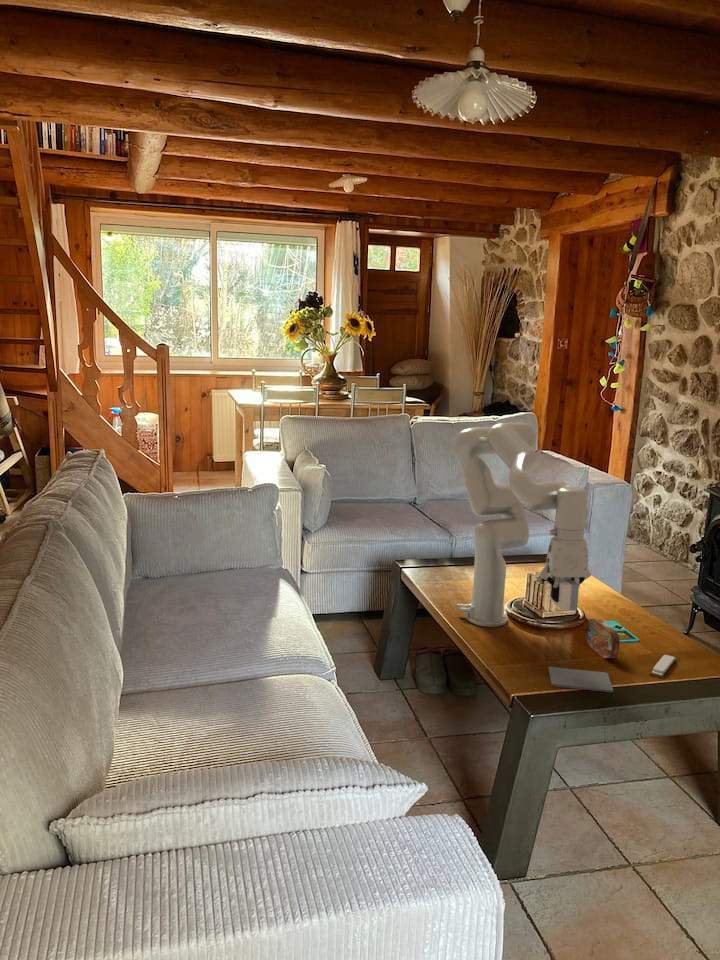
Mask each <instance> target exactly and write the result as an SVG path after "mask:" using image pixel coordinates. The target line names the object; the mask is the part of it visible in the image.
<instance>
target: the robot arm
mask: <svg viewBox="0 0 720 960" xmlns="http://www.w3.org/2000/svg"><path fill="white" fill-rule="evenodd" d="M536 441H537V435H536V432H535V429H534V428H533V426H531V424H529V423H527V422H522V421H518V422H517V421H516V422H515V421H514V422H513V421H512V422H499V423H496V424H494V425H492V426H477V427H468V428H465V429H462V430H461V431H460V432H458V433H457V435H456V436H455V439H454V444H453V452H454V457H455V460H456V462H457V466H458V468H459V470H460V473H461V474H462V477H463V481H464V486H465V489H466V494H467V498H468V501H469V504H470V505H469V506H470V509H471V511H472V512H473V514H474V515H475V516H477V517H492V516H493V517H494V516H495V517H497V516H501V518H492V519H487V520H486V519H485V520H483V521H481V522H479V523H477V524H476V525H475V527H474V528H473V533H472V539H473V548H474V565H473V567H474V568H473V581H472V583H473V584H472V598H471V601H470V603H467V604H464V603H456V604H457V605H456V610H457V611H458V610H459V611H460V613H466V614H465V619H466V620H467V621H468V622H469V623H471V624H474V625H476V626H480V627H487V628H495V627H501V626H504V625H506V624H507V623H508V616H507V615H506V614H505V613H504V600H505V599H504V598H505V588H506V578H507V577H506V575H507V563H506V561H505V559H504V557H503V555H502V551H506V550H514V549H520V548H523V547H524V546H526V545H527V544H528V542H529V540H530V539H529V538H530V530H529V524H528V521H527V517H526V513H525V509H527V510H529V511H531V512H536V511H537V512H539V511H548V510H555V517H554V526H553V528H552V529H549V531H548V533H549V535H550V536H552V537H551V539H550V542H549V543H548V545H549V546H548V549H547V553H546V554H547V555H546V559H545V560H546V561H545V566H544V567H543V568H542V570H541V571H540V572H539V576H540V577H542V578H543V579H544V580H546V581H547V582H548V583H549V584H550V588H551V598H552V599H553V600H554V601H555V602H558V600H559V588H558V584H559V580H560V578H571V579H572V580H573V581H575V582H576V583H577V584H578V585H579V587H580V586H581V584H582V583H584V581H585V580H587V579H588V578H590V577H591V576H592V573H591V571H590V569H589V553H588V552H589V551H588V550H589V549H588V543H587V540H586V539H585V538H584V537H585V535H584V534H585V525H586V523H585V522H586V511H587V501H588V500H587V499H588V493H587V491H586V490H585V489H584V488H582V487H579V486H572V485H571V484H569V483H568V482H565V481H562V480H556V481H555V480H554V481H541V482H534V481H533V480H532V479H531V478H530V477H529V475H527V473H529V471H531V470H532V468H533V467H535V465H536V463H537V459H538V455H537V453H536V451H535V450H534V449H533V447H534V446H535V444H536ZM481 455H482V456H483V455H484V456H485V455H486V456H487V455H498V456H499V458H500V459H501V460H502V461H503V463H504V464H505V465H506V466H507V468H508V469H509V470H510V471H509V474H508V475H509V477H508V478H509V483H508V484H507V483H500V484H499V483H498V484H496V483H495V482H494V479H493V476H492V471H491V469H490V467H489V466H488V464H487V463H486V462H485V461H484V460H483V459H482V458H481V457H480V456H481ZM524 508H525V509H524ZM548 574H549V575H548Z"/></svg>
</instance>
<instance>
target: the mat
mask: <svg viewBox="0 0 720 960" xmlns="http://www.w3.org/2000/svg"><path fill="white" fill-rule="evenodd" d="M548 673H549V679H550V685H551V687H557V688H558V687H559V688H569V689H577V690H578V689H579V690H586V691H587V690H588V691H597V692H603V693H604V692H605V693H614V688H613V686H612V682H611V679H610V676H609V673H608V672H604V671H602V672H601V671H594V670H593V671H592V670H583V669H573V668H565V667H564V668H563V667H556V666H555V667H554V666H548Z"/></svg>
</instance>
